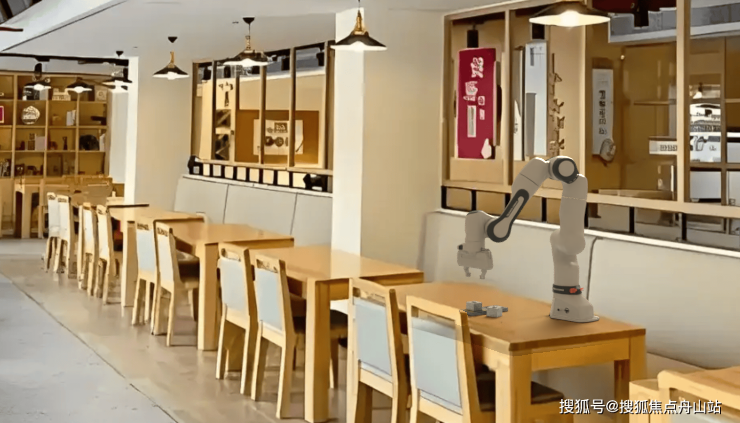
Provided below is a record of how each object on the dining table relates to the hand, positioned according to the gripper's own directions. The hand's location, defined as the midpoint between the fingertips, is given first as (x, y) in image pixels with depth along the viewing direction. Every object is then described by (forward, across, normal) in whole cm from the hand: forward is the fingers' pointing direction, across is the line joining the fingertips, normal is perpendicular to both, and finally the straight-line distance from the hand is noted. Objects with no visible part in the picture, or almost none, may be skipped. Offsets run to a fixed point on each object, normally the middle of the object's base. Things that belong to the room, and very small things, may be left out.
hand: (475, 277), depth 387 cm
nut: (+17, -9, -3) cm, 20 cm away
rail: (+17, 0, -5) cm, 18 cm away
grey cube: (+16, 0, 0) cm, 16 cm away
